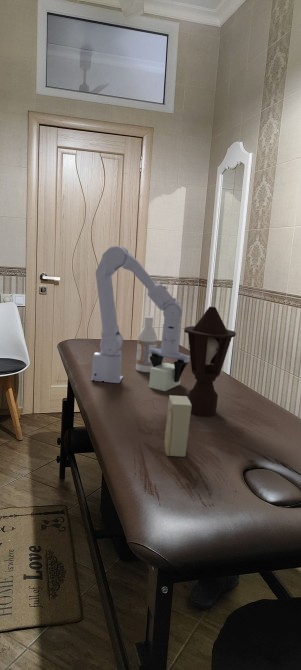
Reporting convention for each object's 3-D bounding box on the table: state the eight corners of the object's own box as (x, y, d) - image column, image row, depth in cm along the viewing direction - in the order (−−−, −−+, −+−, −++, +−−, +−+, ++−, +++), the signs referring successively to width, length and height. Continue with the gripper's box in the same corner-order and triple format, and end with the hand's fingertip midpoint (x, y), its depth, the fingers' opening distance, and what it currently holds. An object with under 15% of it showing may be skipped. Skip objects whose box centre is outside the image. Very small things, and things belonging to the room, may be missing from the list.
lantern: (167, 404, 138) (176, 302, 133) (210, 401, 144) (221, 304, 139) (190, 422, 125) (202, 310, 119) (238, 418, 131) (250, 311, 125)
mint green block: (165, 391, 151) (166, 371, 150) (148, 387, 154) (150, 368, 152) (179, 384, 160) (181, 366, 159) (164, 380, 163) (166, 362, 161)
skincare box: (163, 444, 109) (168, 394, 107) (182, 445, 110) (187, 395, 108) (166, 456, 103) (171, 403, 101) (186, 457, 104) (192, 404, 102)
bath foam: (132, 368, 176) (136, 315, 173) (149, 367, 179) (154, 315, 175) (139, 373, 170) (143, 318, 166) (157, 372, 173) (161, 318, 169)
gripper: (195, 341, 154) (191, 381, 156) (158, 334, 161) (155, 372, 164) (185, 344, 148) (181, 385, 150) (147, 336, 156) (143, 376, 158)
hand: (166, 379), depth 157 cm, fingers open, 7 cm apart
